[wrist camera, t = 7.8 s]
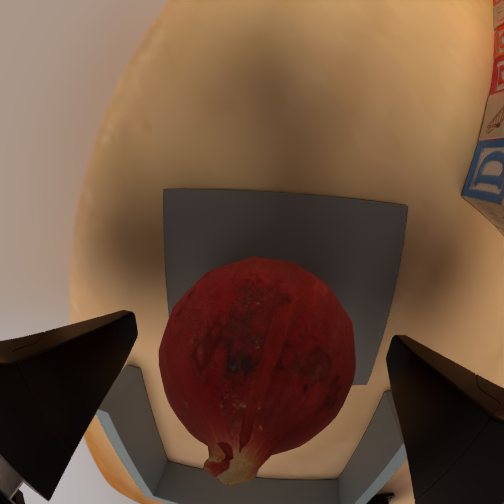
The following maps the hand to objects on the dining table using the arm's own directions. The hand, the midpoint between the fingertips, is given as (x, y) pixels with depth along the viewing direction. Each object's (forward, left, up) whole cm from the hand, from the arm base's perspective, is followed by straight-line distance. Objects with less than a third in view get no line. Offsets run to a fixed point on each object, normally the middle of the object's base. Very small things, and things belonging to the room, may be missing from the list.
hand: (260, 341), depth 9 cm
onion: (0, 0, -3) cm, 3 cm away
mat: (0, 0, -3) cm, 3 cm away
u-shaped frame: (0, +11, -3) cm, 12 cm away
